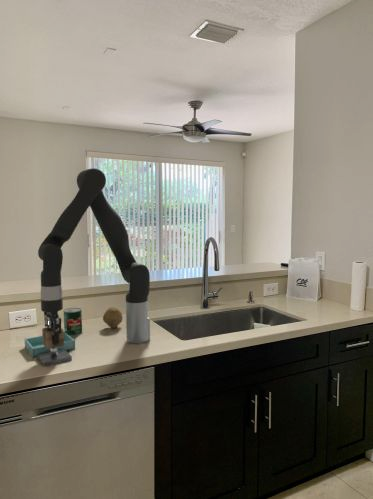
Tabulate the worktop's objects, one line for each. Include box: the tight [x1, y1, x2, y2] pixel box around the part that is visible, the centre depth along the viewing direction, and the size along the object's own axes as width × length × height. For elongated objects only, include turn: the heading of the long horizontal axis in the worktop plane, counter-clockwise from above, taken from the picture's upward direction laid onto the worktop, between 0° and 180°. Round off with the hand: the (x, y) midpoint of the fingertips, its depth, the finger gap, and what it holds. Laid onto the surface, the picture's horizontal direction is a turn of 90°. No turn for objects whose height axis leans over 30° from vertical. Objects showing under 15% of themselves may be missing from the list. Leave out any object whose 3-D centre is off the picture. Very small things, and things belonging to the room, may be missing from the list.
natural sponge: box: [102, 306, 123, 329], centre depth 175 cm, size 9×9×10 cm
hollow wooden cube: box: [41, 327, 64, 349], centre depth 136 cm, size 6×6×6 cm
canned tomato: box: [63, 307, 83, 337], centre depth 166 cm, size 8×8×11 cm
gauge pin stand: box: [36, 347, 73, 368], centre depth 136 cm, size 10×10×7 cm
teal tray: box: [24, 332, 76, 359], centre depth 148 cm, size 16×14×4 cm
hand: (53, 341), depth 136 cm, fingers closed on hollow wooden cube, 6 cm apart
